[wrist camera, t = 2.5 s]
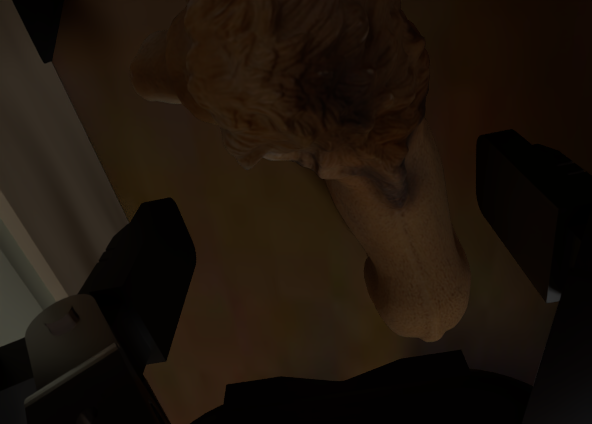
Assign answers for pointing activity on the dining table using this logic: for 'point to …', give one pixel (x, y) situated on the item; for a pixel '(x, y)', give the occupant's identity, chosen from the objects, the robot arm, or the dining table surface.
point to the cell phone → (41, 23)
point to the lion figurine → (329, 128)
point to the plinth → (44, 186)
